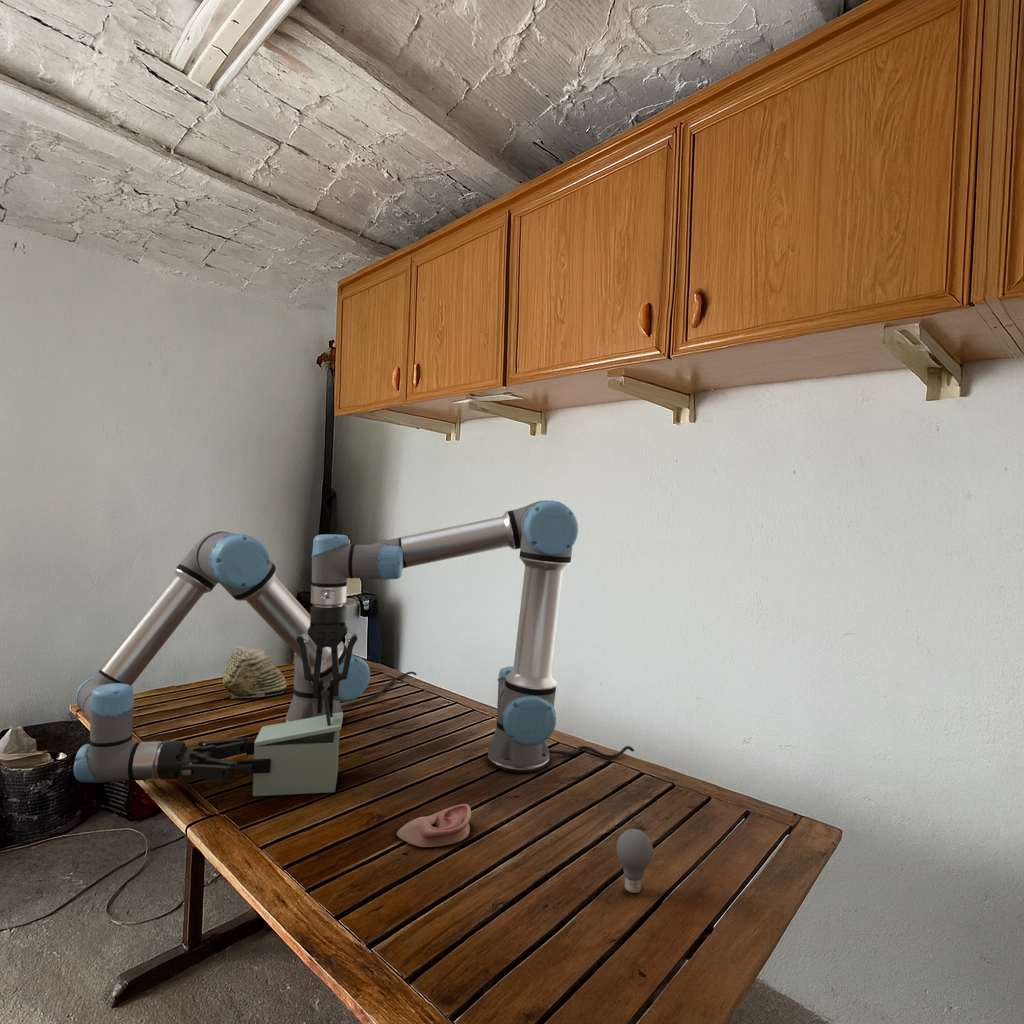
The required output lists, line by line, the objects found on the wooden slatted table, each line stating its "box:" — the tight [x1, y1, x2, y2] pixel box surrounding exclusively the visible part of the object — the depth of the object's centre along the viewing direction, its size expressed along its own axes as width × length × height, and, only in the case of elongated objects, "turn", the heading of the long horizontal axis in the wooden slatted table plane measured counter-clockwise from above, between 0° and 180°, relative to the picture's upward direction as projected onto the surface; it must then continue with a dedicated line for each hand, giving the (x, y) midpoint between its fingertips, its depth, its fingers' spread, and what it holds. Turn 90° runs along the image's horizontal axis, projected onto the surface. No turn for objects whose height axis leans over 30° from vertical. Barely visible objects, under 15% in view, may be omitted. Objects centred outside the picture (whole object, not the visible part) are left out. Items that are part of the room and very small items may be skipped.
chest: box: [252, 730, 340, 797], centre depth 139 cm, size 17×9×10 cm, turn 102°
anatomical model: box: [396, 803, 472, 848], centre depth 121 cm, size 13×4×12 cm
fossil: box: [222, 646, 288, 699], centre depth 198 cm, size 9×18×15 cm, turn 132°
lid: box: [254, 682, 344, 746], centre depth 139 cm, size 18×9×9 cm, turn 102°
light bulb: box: [615, 828, 654, 894], centre depth 106 cm, size 6×6×10 cm
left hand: (274, 756), depth 138 cm, fingers closed on chest, 9 cm apart
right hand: (325, 710), depth 140 cm, fingers closed on lid, 2 cm apart
